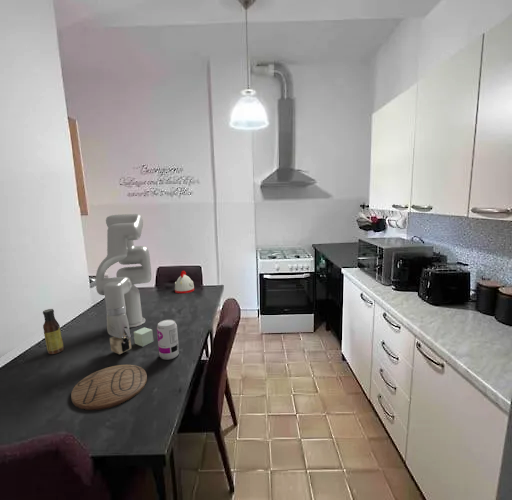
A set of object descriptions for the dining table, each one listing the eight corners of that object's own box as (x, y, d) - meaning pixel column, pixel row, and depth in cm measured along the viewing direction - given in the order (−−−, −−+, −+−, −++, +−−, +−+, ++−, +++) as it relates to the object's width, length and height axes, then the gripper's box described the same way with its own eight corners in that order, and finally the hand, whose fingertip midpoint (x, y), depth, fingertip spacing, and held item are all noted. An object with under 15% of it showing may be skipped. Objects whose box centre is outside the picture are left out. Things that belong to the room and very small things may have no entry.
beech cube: (111, 350, 137) (109, 338, 136) (123, 344, 142) (121, 332, 141) (119, 354, 134) (117, 341, 133) (131, 348, 139) (130, 335, 138)
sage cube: (134, 343, 147) (133, 331, 146) (145, 338, 151) (144, 327, 150) (143, 346, 143) (141, 334, 142) (153, 341, 148) (152, 329, 147)
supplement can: (161, 362, 129) (158, 328, 126) (158, 353, 136) (154, 321, 133) (181, 357, 132) (178, 324, 130) (176, 349, 140) (173, 317, 137)
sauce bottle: (67, 349, 144) (60, 308, 140) (54, 355, 138) (47, 313, 134) (56, 347, 146) (50, 307, 142) (44, 353, 140) (36, 312, 136)
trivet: (66, 420, 97) (65, 415, 97) (76, 378, 120) (75, 374, 120) (150, 397, 107) (149, 392, 106) (144, 363, 129) (144, 358, 129)
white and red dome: (171, 293, 222) (170, 273, 220) (179, 287, 236) (178, 268, 233) (190, 293, 220) (188, 273, 217) (197, 287, 233) (195, 268, 231)
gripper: (96, 309, 136) (102, 347, 139) (120, 317, 127) (125, 357, 130) (112, 303, 142) (117, 340, 146) (136, 311, 133) (140, 349, 136)
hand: (121, 348), depth 138 cm, fingers closed on beech cube, 6 cm apart
